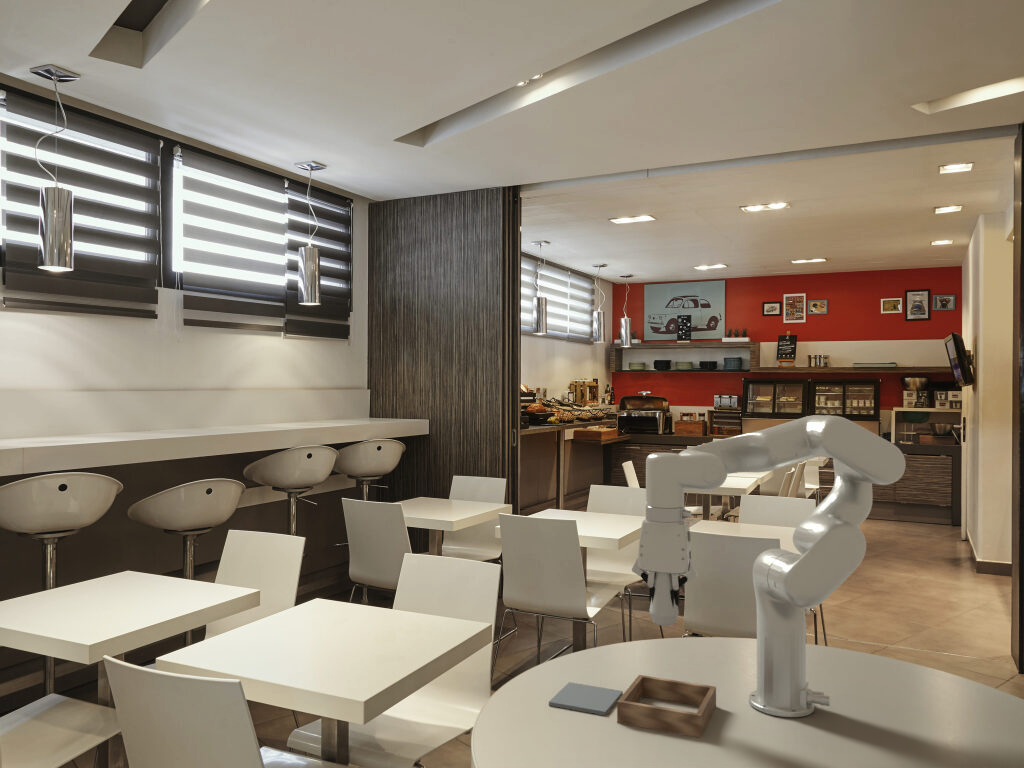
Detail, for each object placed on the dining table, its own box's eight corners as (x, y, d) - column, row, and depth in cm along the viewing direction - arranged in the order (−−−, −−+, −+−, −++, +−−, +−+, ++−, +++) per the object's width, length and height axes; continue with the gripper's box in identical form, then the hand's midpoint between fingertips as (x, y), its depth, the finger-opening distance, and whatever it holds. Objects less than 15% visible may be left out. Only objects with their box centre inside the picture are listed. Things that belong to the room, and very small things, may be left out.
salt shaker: (679, 628, 152) (679, 561, 152) (649, 626, 153) (649, 559, 153) (678, 619, 157) (678, 555, 158) (649, 618, 158) (649, 553, 159)
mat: (622, 694, 164) (622, 690, 164) (605, 715, 154) (605, 711, 154) (569, 685, 169) (569, 682, 169) (548, 705, 158) (548, 701, 158)
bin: (716, 706, 158) (716, 686, 159) (701, 737, 144) (701, 715, 144) (639, 693, 165) (639, 674, 165) (617, 722, 150) (617, 701, 151)
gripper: (709, 515, 155) (709, 607, 155) (629, 509, 162) (629, 598, 162) (702, 520, 149) (702, 617, 148) (619, 514, 155) (619, 607, 155)
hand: (664, 606), depth 155 cm, fingers closed on salt shaker, 3 cm apart
